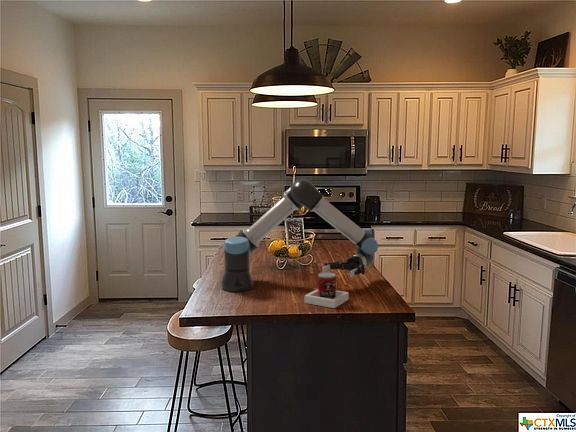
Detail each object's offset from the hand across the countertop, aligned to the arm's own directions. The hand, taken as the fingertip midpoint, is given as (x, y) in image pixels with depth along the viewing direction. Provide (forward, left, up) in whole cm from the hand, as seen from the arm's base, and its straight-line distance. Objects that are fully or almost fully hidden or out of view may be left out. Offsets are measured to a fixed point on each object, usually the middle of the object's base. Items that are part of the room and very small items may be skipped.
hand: (336, 272), depth 208 cm
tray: (0, -10, -11) cm, 15 cm away
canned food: (0, -10, -10) cm, 14 cm away
